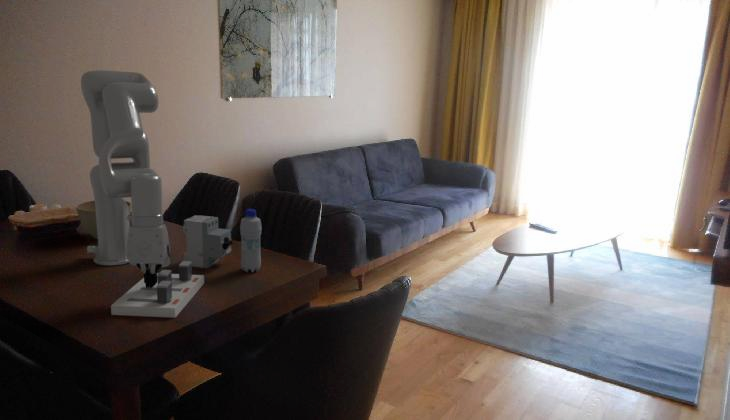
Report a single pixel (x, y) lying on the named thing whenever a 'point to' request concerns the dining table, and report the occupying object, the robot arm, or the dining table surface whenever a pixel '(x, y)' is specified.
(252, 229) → the bottle
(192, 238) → the circuit breaker
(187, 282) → the breaker panel
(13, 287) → the dining table surface
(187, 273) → the block
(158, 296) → the block
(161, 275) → the block
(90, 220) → the olive rounded bowl
